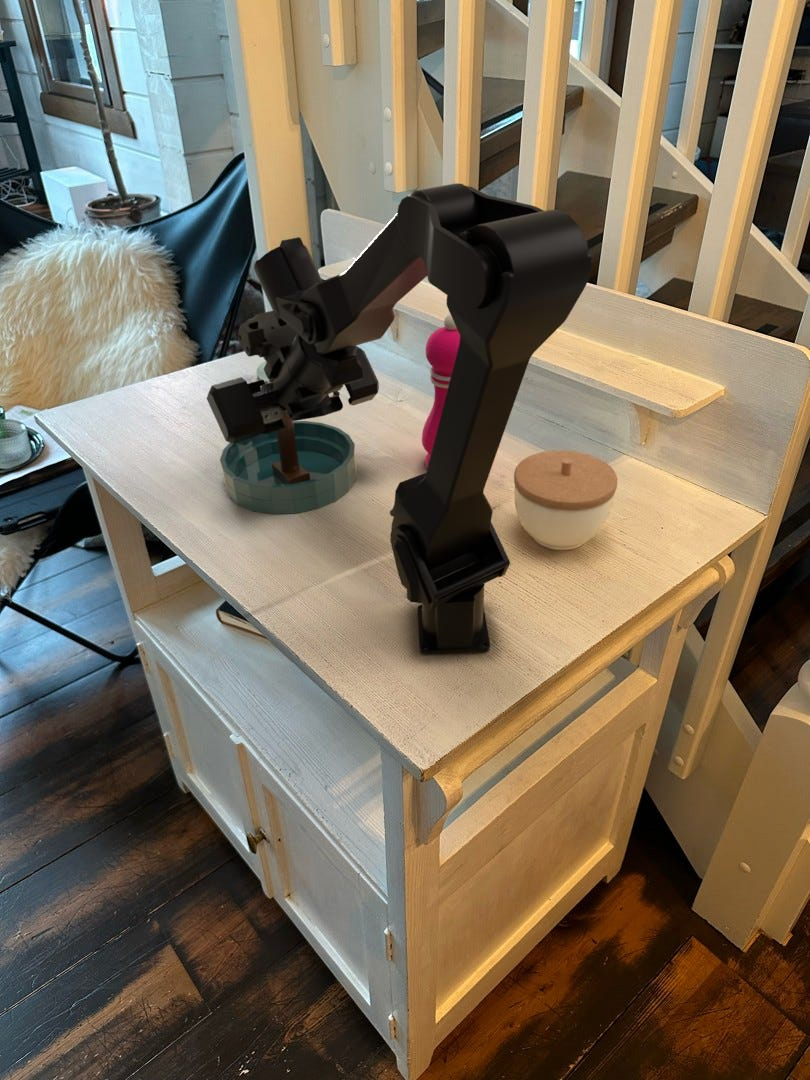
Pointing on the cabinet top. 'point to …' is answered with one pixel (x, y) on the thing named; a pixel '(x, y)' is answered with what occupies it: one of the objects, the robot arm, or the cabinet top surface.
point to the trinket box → (563, 497)
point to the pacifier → (261, 373)
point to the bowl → (318, 453)
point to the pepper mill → (439, 375)
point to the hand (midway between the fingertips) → (279, 421)
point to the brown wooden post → (288, 454)
